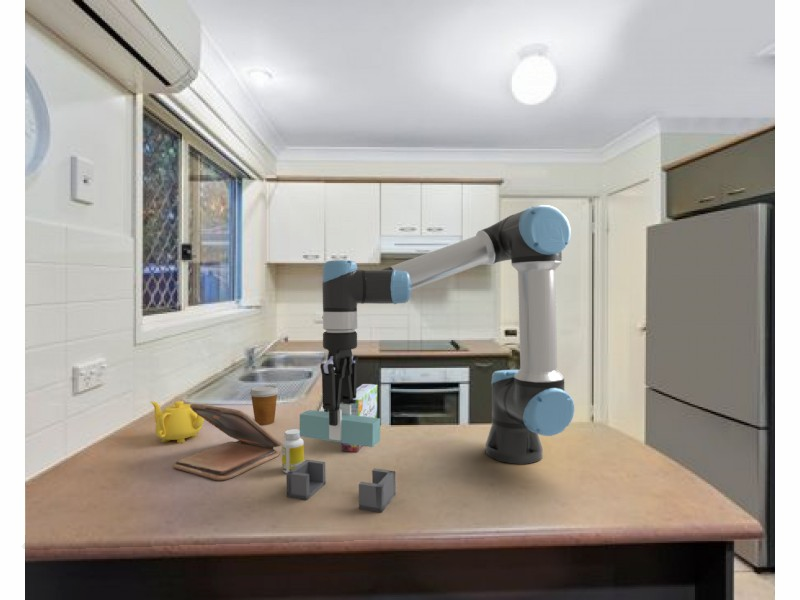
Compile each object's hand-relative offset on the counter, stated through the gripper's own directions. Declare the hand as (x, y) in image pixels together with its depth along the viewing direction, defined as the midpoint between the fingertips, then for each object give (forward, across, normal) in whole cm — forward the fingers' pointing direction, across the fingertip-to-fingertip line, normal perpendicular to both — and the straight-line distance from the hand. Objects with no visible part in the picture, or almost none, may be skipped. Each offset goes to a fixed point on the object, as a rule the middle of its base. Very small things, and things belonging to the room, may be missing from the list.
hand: (340, 435), depth 98 cm
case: (+14, -8, -38) cm, 41 cm away
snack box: (+13, -34, -11) cm, 38 cm away
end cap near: (+13, +1, +9) cm, 16 cm away
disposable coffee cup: (+13, -40, -50) cm, 65 cm away
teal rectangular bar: (+1, 0, 0) cm, 1 cm away
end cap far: (+13, +1, -8) cm, 16 cm away
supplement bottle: (+13, -8, -18) cm, 23 cm away
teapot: (+14, -16, -65) cm, 68 cm away
